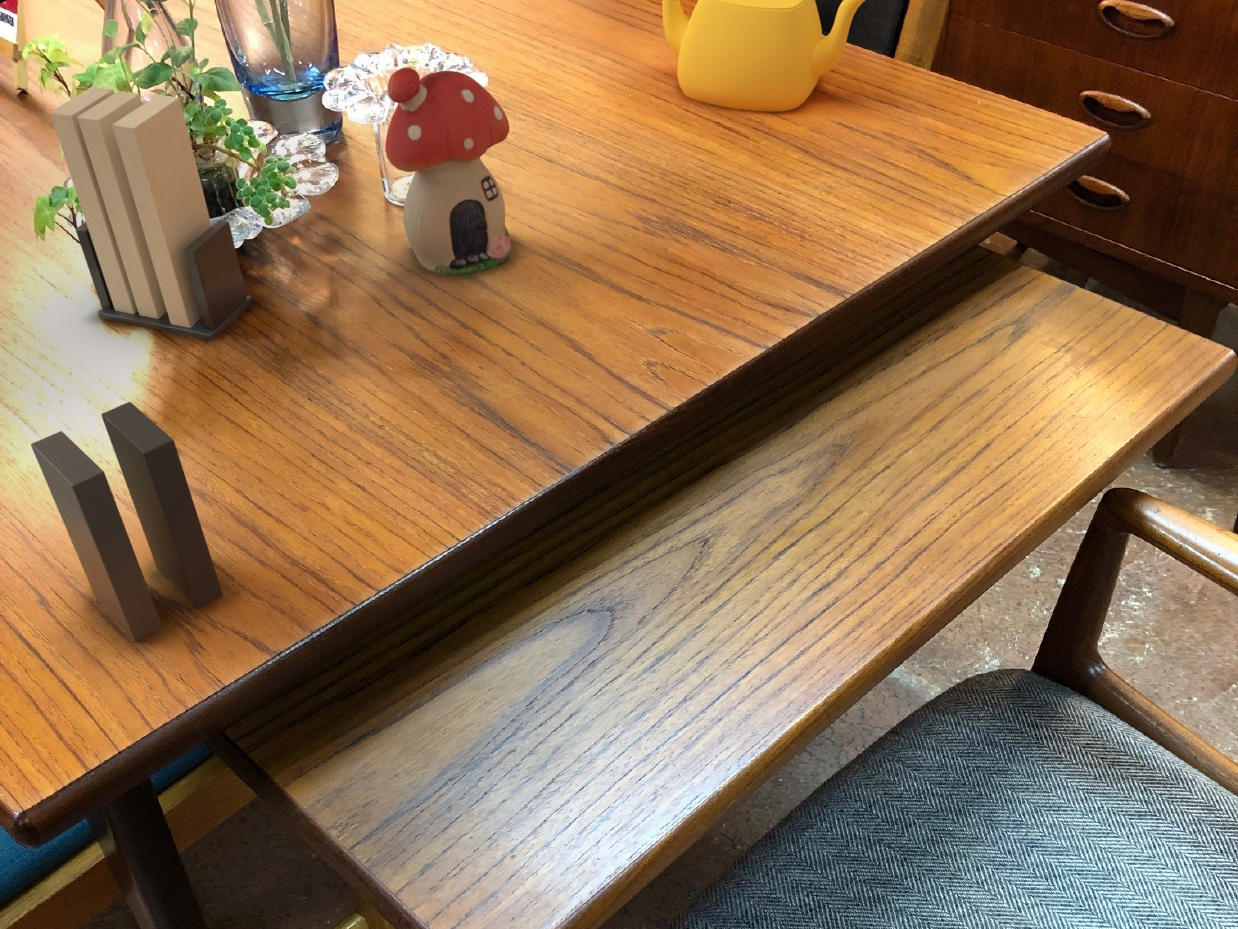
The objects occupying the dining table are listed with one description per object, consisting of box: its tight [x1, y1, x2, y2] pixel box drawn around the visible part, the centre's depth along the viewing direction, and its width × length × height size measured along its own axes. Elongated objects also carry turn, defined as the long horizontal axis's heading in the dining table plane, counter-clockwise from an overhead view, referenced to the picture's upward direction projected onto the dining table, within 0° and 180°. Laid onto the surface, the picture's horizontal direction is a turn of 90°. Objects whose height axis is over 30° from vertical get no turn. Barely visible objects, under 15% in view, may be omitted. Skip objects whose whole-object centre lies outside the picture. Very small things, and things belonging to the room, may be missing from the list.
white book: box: [112, 94, 212, 328], centre depth 80 cm, size 2×5×14 cm, turn 162°
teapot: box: [661, 0, 866, 113], centre depth 113 cm, size 22×16×11 cm
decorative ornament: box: [384, 67, 512, 276], centre depth 87 cm, size 9×7×15 cm
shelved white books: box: [49, 86, 167, 319], centre depth 81 cm, size 4×4×14 cm
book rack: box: [75, 219, 254, 342], centre depth 83 cm, size 9×6×7 cm, turn 72°
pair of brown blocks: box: [30, 401, 224, 643], centre depth 61 cm, size 5×4×11 cm
